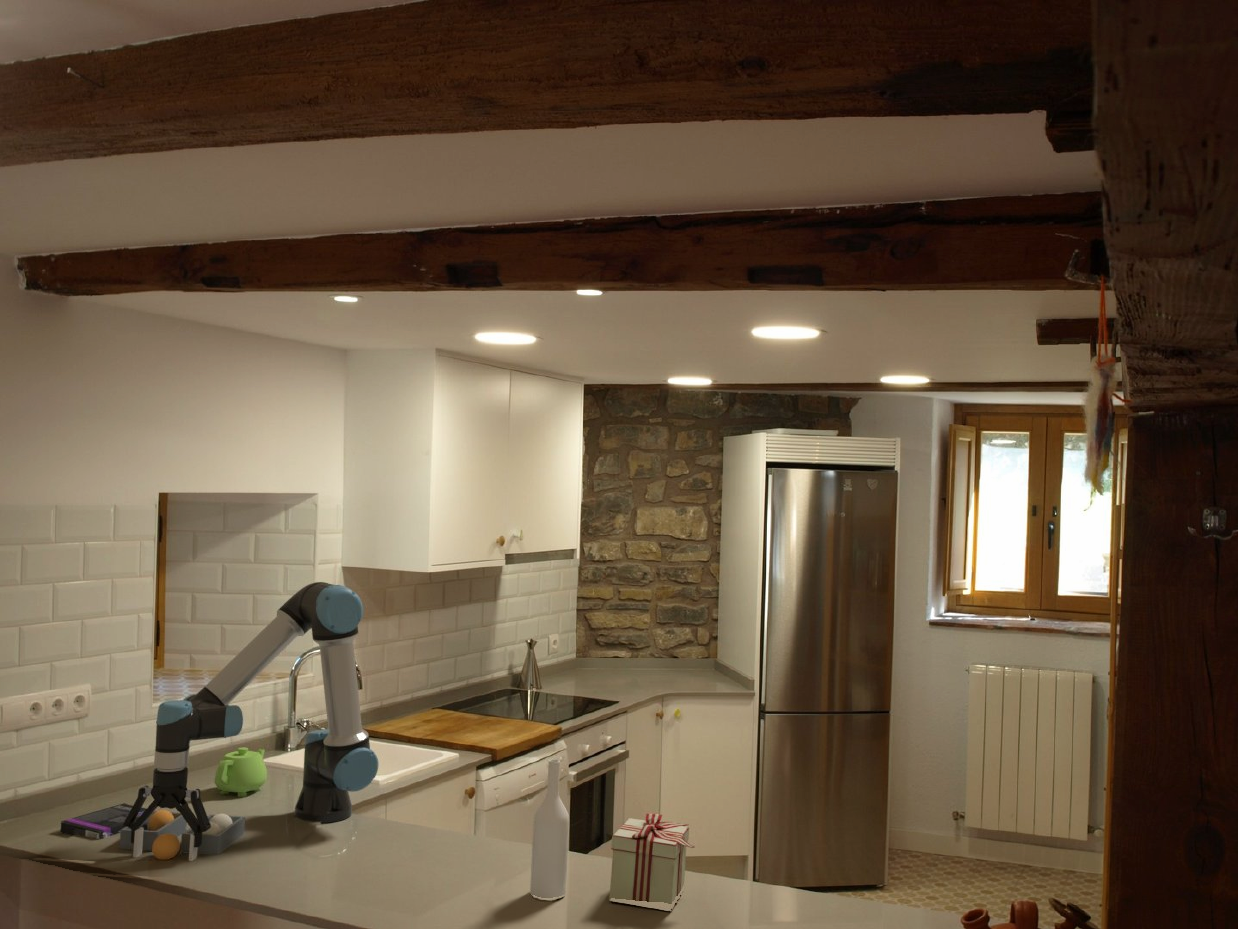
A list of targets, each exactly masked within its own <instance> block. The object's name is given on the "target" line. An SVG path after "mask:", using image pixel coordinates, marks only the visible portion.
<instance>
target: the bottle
mask: <svg viewBox="0 0 1238 929" xmlns="http://www.w3.org/2000/svg"><path fill="white" fill-rule="evenodd" d="M547 767H548V768H547V785H546V794H545V795H546V796H545V797H544V798H543V801H542V802H541V803H540V805H539V806H538V807H537V809H536V811H535V813H534V816H533V824H532V825H533V826H532V828H533V829H532V844H531V847H532V848H531V864H530V865H531V868H530V889H529V894H530V893H531V894H532V895H535V896H537V897H541V898H553V897H559V896H562V895H564V894H565V893H567V876H568V875H567V874H568V858H569V857H568V856H569V855H568V853H569V837H570V834H569V833H570V815H569V812H568V811H567V808H566V806H565V805H564V803H563V801H562V799H561V797H560V772H561V761H560V760H559V759H554V758H553V759H550V760H548V765H547Z"/></svg>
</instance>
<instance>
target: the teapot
mask: <svg viewBox="0 0 1238 929" xmlns="http://www.w3.org/2000/svg"><path fill="white" fill-rule="evenodd" d="M265 752H266V750H265V749H262V748H260V749H257V751H252V750H249V748H248V747H245V746H244V747H238V748H237V751H236V750H235V751H232V752H228V753H226V754H225V755H224V756H223V758H222V759H221V760H220V761H219V764H218V767H217V769H216V771H215V775H214V784H215V786H216V788H217V789H218V790H220V792H219V794H220V795H228V794H229V793H230V792H231V793H237V797H239V798H246V797H248V793H247V792H250V791H251V792H252V793H253V792H255V793H256V792H260V791H261V789H260V788H261V787H262V786H263V785H264V784H265V783H266V781H267V778H268V772H267V767H266V763H265V761H264V756H265Z"/></svg>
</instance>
